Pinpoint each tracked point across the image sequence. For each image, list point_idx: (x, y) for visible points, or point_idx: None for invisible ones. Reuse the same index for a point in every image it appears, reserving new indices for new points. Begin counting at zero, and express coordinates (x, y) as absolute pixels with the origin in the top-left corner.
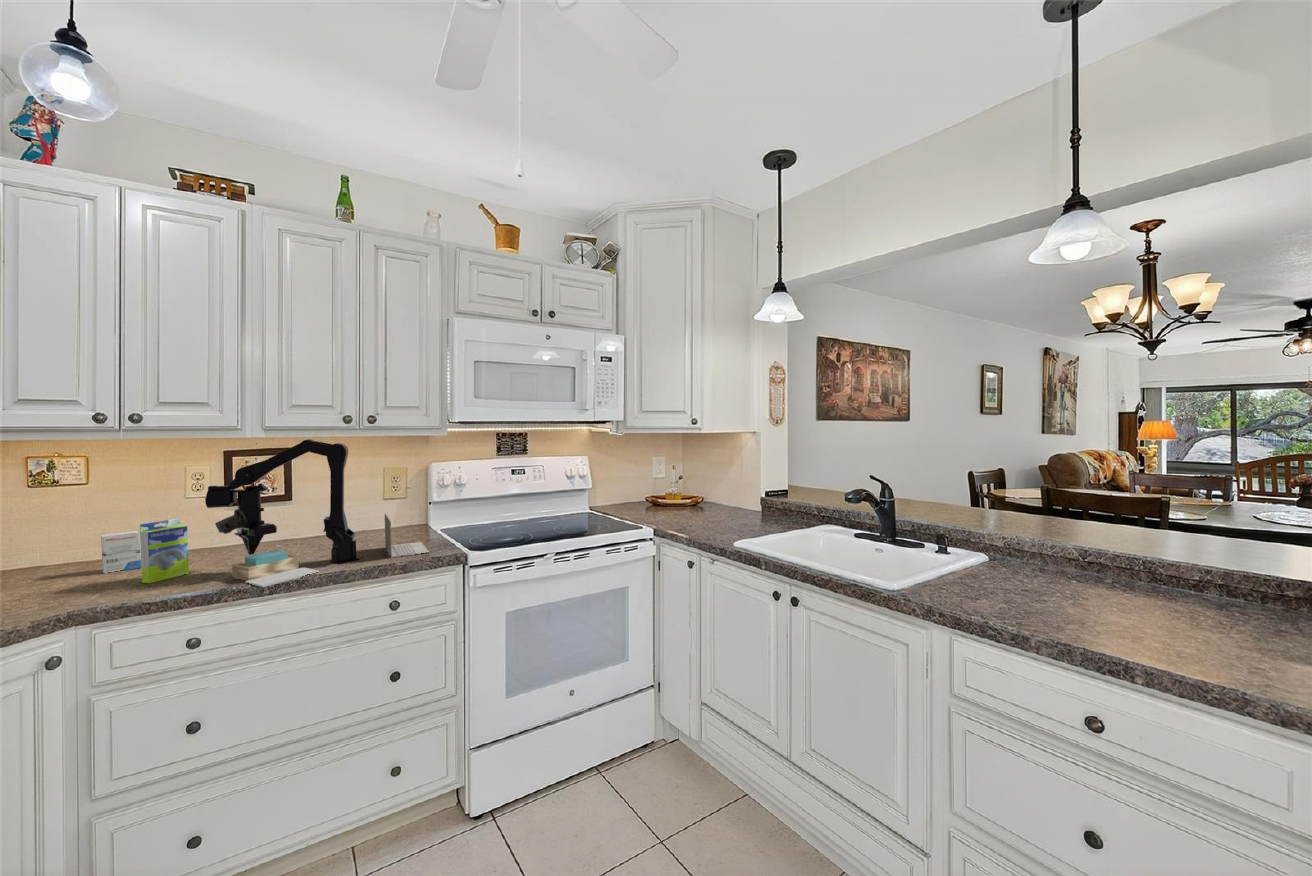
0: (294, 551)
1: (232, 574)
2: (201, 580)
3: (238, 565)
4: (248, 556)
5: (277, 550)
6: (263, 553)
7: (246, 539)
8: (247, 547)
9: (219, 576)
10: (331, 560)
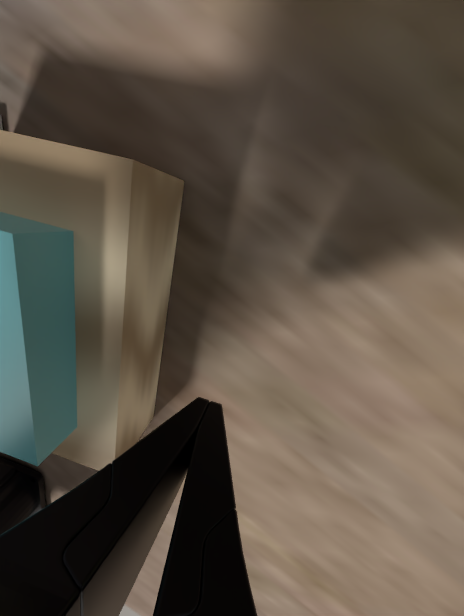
0: (335, 607)
1: (173, 176)
2: (360, 41)
3: (51, 156)
4: (2, 258)
5: (27, 459)
6: (13, 375)
7: (60, 599)
8: (192, 456)
9: (312, 183)
10: (24, 472)
